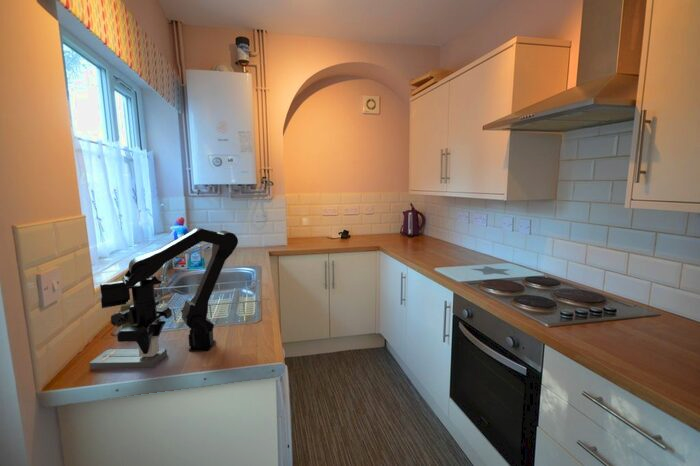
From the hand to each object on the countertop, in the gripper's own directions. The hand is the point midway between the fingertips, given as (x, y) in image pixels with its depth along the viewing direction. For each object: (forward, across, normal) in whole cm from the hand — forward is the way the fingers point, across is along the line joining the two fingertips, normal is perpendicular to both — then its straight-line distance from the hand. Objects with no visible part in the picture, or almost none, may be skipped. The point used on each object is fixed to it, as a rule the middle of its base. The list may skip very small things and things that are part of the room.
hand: (149, 350), depth 104 cm
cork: (+4, -21, -18) cm, 28 cm away
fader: (+1, 0, 0) cm, 1 cm away
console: (+4, 0, -6) cm, 7 cm away
